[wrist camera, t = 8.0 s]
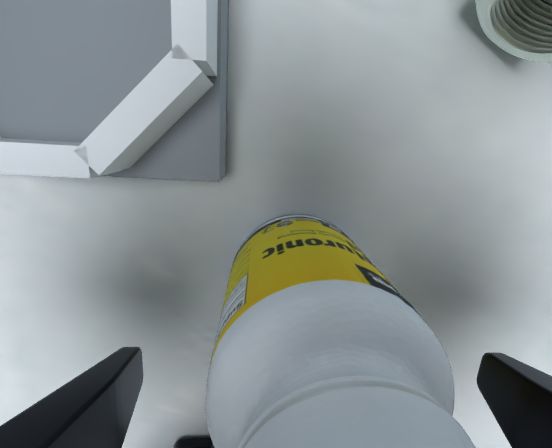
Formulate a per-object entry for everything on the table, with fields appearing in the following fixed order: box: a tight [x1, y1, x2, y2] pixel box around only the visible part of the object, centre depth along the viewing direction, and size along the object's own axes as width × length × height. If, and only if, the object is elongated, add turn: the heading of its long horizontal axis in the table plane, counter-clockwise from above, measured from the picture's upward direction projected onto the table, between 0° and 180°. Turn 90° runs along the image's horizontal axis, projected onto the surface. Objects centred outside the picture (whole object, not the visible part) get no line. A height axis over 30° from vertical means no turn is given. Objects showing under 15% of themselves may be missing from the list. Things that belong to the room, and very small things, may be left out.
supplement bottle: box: [205, 215, 475, 448], centre depth 9 cm, size 5×5×10 cm
